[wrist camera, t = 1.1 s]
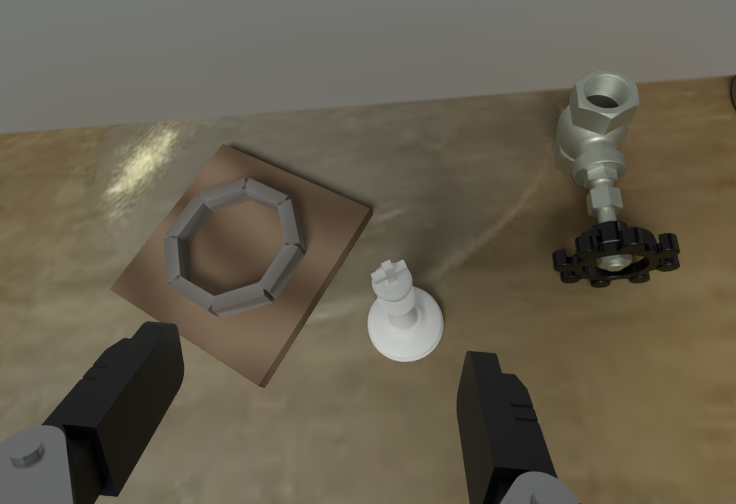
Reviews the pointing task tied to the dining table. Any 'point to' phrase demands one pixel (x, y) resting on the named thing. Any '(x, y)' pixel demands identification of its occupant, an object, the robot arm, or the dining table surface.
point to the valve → (605, 185)
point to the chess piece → (402, 315)
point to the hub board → (243, 260)
